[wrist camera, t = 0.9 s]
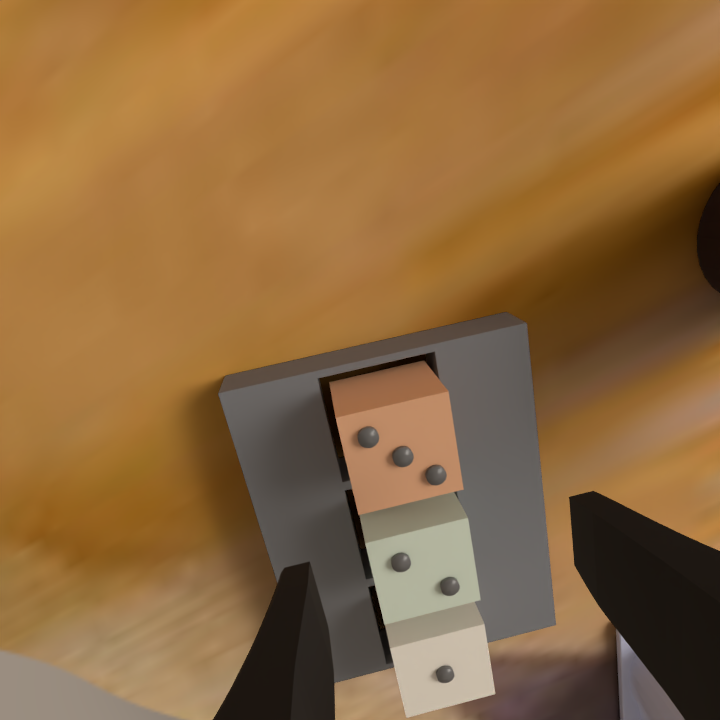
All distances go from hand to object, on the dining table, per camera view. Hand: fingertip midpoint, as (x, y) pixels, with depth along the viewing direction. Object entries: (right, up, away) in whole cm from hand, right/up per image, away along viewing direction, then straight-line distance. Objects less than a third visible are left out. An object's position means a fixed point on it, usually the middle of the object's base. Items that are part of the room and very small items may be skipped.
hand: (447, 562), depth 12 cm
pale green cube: (0, -2, +10) cm, 10 cm away
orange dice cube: (-1, +3, +8) cm, 9 cm away
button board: (0, -2, +11) cm, 12 cm away
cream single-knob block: (+1, -7, +11) cm, 13 cm away
